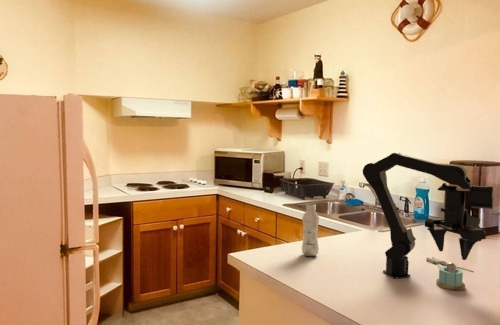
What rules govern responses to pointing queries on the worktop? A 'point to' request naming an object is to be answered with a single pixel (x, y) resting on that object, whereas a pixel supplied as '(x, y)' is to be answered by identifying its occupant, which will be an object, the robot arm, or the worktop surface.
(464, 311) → the worktop surface
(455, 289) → the post stand
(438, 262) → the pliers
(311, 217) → the plastic bottle
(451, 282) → the ring
